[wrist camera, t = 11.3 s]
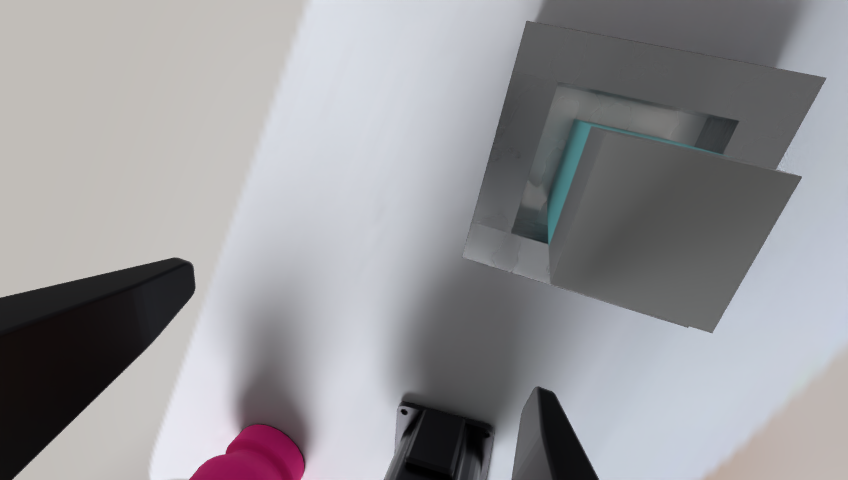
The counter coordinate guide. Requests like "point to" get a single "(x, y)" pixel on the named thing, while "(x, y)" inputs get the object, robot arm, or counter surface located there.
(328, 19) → the counter surface
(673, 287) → the plug
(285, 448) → the pepper mill
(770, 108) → the block
